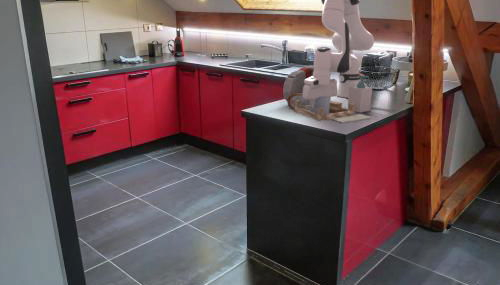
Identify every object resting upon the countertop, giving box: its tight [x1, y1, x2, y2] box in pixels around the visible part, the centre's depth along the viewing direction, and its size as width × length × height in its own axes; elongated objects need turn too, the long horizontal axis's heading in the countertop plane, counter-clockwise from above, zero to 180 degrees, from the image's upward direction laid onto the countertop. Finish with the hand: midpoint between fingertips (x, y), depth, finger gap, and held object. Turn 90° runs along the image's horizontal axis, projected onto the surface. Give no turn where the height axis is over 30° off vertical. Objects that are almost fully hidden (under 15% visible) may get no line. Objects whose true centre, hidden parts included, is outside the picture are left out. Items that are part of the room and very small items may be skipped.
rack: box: [294, 97, 355, 122], centre depth 222 cm, size 22×21×6 cm
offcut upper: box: [329, 100, 343, 110], centre depth 224 cm, size 4×9×3 cm, turn 49°
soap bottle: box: [346, 74, 373, 114], centre depth 228 cm, size 9×9×19 cm
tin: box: [286, 93, 310, 110], centre depth 232 cm, size 15×3×8 cm, turn 109°
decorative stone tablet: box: [282, 64, 314, 102], centre depth 244 cm, size 19×6×30 cm
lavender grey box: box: [309, 96, 330, 115], centre depth 220 cm, size 3×12×10 cm, turn 30°
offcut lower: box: [329, 108, 343, 114], centre depth 225 cm, size 5×11×3 cm, turn 37°
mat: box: [332, 113, 372, 124], centre depth 213 cm, size 19×7×1 cm, turn 120°
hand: (319, 106), depth 220 cm, fingers open, 6 cm apart
